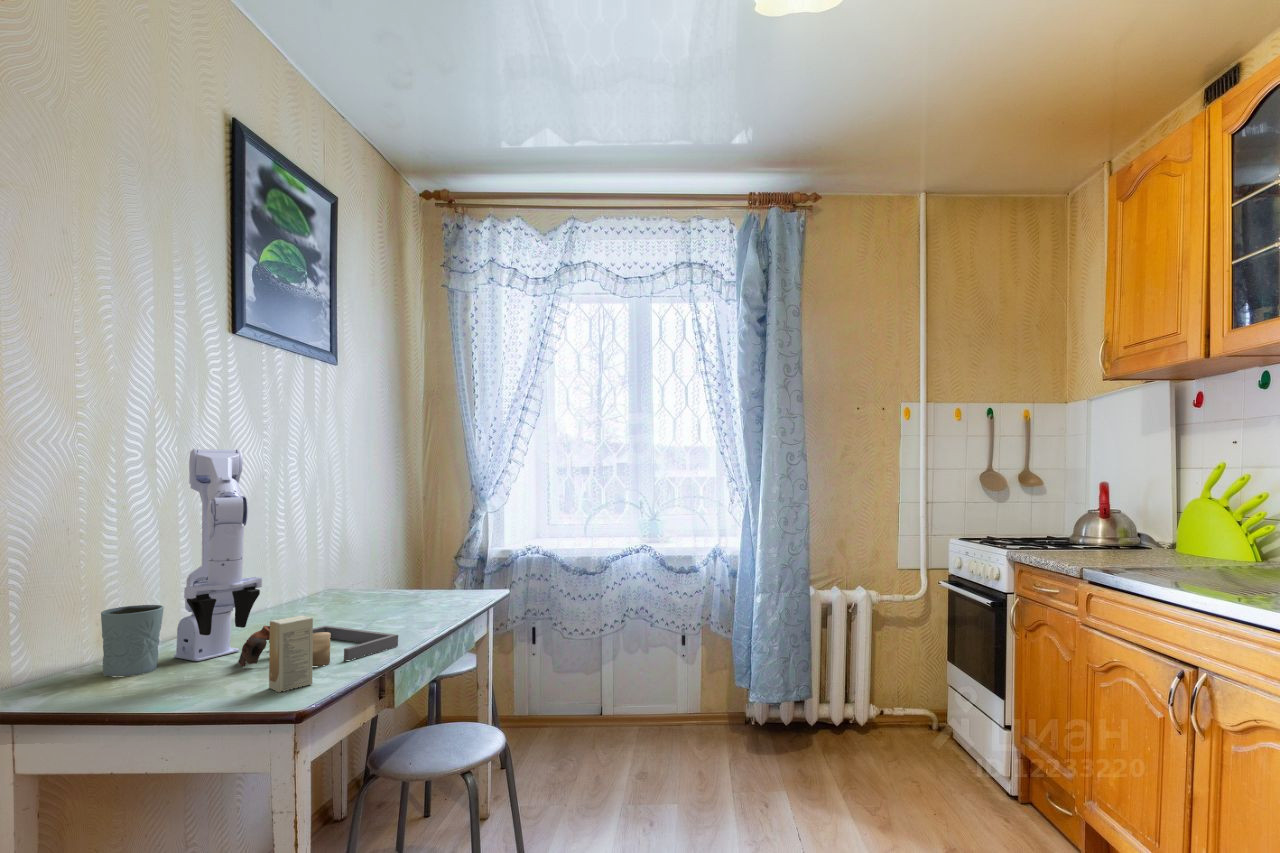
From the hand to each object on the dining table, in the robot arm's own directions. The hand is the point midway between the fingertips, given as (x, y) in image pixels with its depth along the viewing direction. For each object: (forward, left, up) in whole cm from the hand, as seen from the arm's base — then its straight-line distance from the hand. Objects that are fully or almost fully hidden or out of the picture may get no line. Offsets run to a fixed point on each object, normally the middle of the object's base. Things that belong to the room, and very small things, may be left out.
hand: (223, 630), depth 137 cm
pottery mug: (+9, +1, -9) cm, 13 cm away
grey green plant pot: (-5, +19, -9) cm, 22 cm away
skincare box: (+1, -18, -9) cm, 20 cm away
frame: (+25, -3, -8) cm, 26 cm away
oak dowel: (+14, -10, -8) cm, 19 cm away
